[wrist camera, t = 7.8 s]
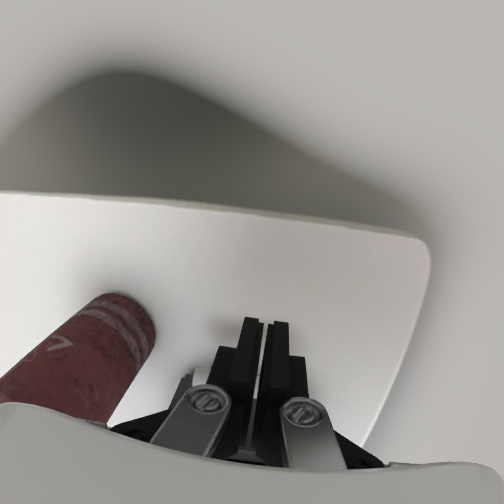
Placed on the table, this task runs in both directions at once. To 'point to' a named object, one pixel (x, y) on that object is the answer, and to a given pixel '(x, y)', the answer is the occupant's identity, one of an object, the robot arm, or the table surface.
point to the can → (84, 361)
